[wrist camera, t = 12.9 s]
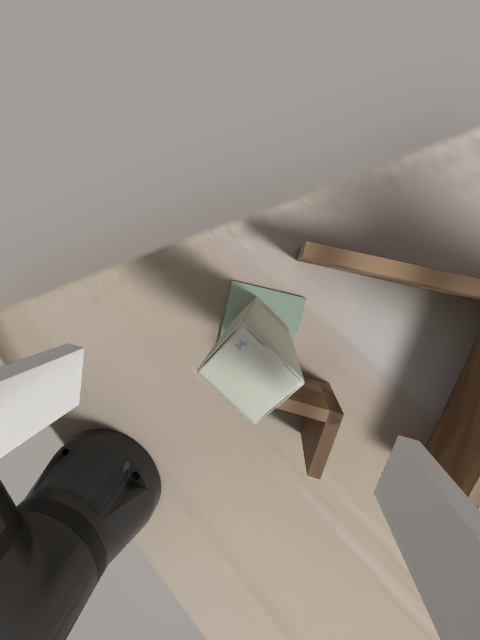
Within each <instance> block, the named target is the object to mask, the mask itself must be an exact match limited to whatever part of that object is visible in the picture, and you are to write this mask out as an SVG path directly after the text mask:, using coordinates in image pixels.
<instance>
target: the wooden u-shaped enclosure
mask: <svg viewBox="0 0 480 640" xmlns="http://www.w3.org/2000/svg"><path fill="white" fill-rule="evenodd" d="M296 260H297V261H302V262H306V263H311V264H315V265H320V266H324V267H329V268H333V269H337V270H342V271H346V272H351V273H355V274H360V275H364V276H369V277H373V278H377V279H382V280H386V281H391V282H395V283H400V284H404V285H409V286H413V287H417V288H422V289H426V290H431V291H435V292H440V293H444V294H449V295H453V296H457V297H462V298H466V299H471V300H475V301H480V279H479V278H474V277H470V276H465V275H460V274H456V273H451V272H447V271H442V270H437V269H433V268H428V267H423V266H419V265H414V264H410V263H405V262H400V261H396V260H391V259H387V258H382V257H377V256H373V255H368V254H363V253H359V252H354V251H350V250H345V249H340V248H336V247H331V246H327V245H322V244H317V243H313V242H308V241H306V242H305V243H304V244H303V245H302V246H301V247H300V248H299V251H298V255H297V259H296ZM303 378H304V382H305V383H304V385H303V386H301V387H300V388H299V389H298V390H297V391H296V392H295V393H293V394H292V395H291V396H290V397H289V398H287V399H286V400H285V401H284V402H283V403H281V404H280V405H279V406H278V407H276V408H277V409H281V410H284V411H288V412H291V413H295V414H298V415H302V416H305V417H306V419H305V422H304V425H303V429H302V432H301V438H302V444H303V451H304V457H305V464H306V471H307V475H308V476H311V477H314V478H318V479H320V478H321V475H322V472H323V470H324V467H325V464H326V462H327V459H328V456H329V453H330V451H331V448H332V445H333V443H334V440H335V437H336V434H337V432H338V429H339V426H340V423H341V421H342V418H343V415H344V414H343V412H342V410H341V408H340V405H339V403H338V401H337V399H336V397H335V395H334V393H333V391H332V388H331V386H330V384H329V383H326V382H323V381H319V380H315V379H311V378H308V377H304V376H303ZM426 449H427V451H428V452H429V453H430V454H431V455H432V456H433V457H434V459H435V460H436V461H437V462H438V463H439V464H440V466H441V467H442V468H443V469H444V470H445V471H446V472H447V474H448V475H449V476H450V477H451V478H452V479H453V481H454V482H455V483H456V484H457V485H458V486H459V488H460V489H461V490H462V491H463V492H464V493H465V494H466V496H467V497H468V498H469V499H470V500H471V501H472V503H473V504H474V505H475V506H476V507H477V508H478V509H479V508H480V335H479V337H478V340H477V342H476V344H475V346H474V348H473V350H472V352H471V354H470V356H469V359H468V361H467V363H466V365H465V367H464V369H463V371H462V373H461V375H460V378H459V380H458V382H457V384H456V386H455V388H454V390H453V392H452V394H451V397H450V399H449V401H448V403H447V405H446V407H445V409H444V411H443V413H442V416H441V418H440V420H439V422H438V424H437V426H436V428H435V430H434V432H433V435H432V437H431V439H430V441H429V443H428V445H427V447H426Z"/></svg>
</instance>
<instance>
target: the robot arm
mask: <svg viewBox="0 0 480 640" xmlns="http://www.w3.org/2000/svg"><path fill="white" fill-rule="evenodd" d="M83 355H84V348H83V347H79V346H75V345H72V344H65V345H62V346H59V347H56V348H53V349H50V350H47V351H45V352H42V353H39V354H36V355H33V356H30V357H27V358H24V359H22V360H19V361H16V362H13V363H10V364H7V365H4V366H1V367H0V458H2V457H3V456H4V455H6V454H7V453H9V452H10V451H12V450H13V449H15V448H16V447H17V446H19V445H21V444H22V443H24V442H25V441H26V440H28V439H29V438H31V437H32V436H34V435H35V434H37V433H38V432H40V431H41V430H43V429H44V428H46V427H47V426H48V425H50V424H51V423H53V422H54V421H56V420H57V419H59V418H60V417H62V416H63V415H65V414H66V413H67V412H69V411H70V410H72V409H73V408H75V407H76V406H78V405H79V402H80V390H81V379H82V367H83ZM374 494H375V496H376V499H377V501H378V503H379V505H380V507H381V510H382V512H383V514H384V516H385V518H386V521H387V523H388V525H389V527H390V529H391V532H392V534H393V536H394V538H395V540H396V543H397V545H398V547H399V549H400V551H401V553H402V556H403V558H404V560H405V562H406V564H407V567H408V569H409V571H410V573H411V575H412V578H413V580H414V582H415V584H416V586H417V589H418V591H419V593H420V595H421V597H422V599H423V602H424V604H425V606H426V608H427V610H428V613H429V615H430V617H431V619H432V621H433V624H434V626H435V628H436V630H437V632H438V635H439V637H440V639H441V640H480V511H479V509H478V508H477V507H476V506H475V505H474V504H473V503H472V501H471V500H470V499H469V498H468V497H467V496H466V494H465V493H464V492H463V491H462V490H461V489H460V488H459V486H458V485H457V484H456V483H455V482H454V481H453V479H452V478H451V477H450V476H449V475H448V474H447V472H446V471H445V470H444V469H443V468H442V467H441V466H440V464H439V463H438V462H437V461H436V460H435V459H434V457H433V456H432V455H431V454H430V453H429V452H428V451H427V449H426V448H425V447H424V446H423V445H422V444H421V442H420V441H418V440H414V439H411V438H407V437H403V436H400V435H398V437H397V440H396V442H395V444H394V447H393V449H392V451H391V454H390V456H389V458H388V461H387V463H386V465H385V468H384V470H383V472H382V475H381V477H380V479H379V482H378V484H377V486H376V489H375V491H374ZM160 495H161V481H160V476H159V473H158V470H157V468H156V466H155V464H154V462H153V460H152V459H151V457H150V456H149V455H148V454H147V452H146V451H145V450H144V449H143V448H142V447H141V446H140V445H138V444H137V443H136V442H134V441H133V440H131V439H130V438H128V437H126V436H124V435H122V434H120V433H117V432H114V431H110V430H102V429H95V430H88V431H85V432H82V433H80V434H78V435H76V436H75V437H74V438H72V439H71V440H70V441H69V442H68V443H66V444H65V445H64V446H63V447H62V448H61V449H60V450H59V451H58V452H57V453H56V454H55V455H54V457H53V458H52V460H51V461H50V463H49V464H48V465H47V467H46V468H45V470H44V471H43V473H42V474H41V476H40V477H39V479H38V480H37V482H36V483H35V485H34V486H33V487H32V489H31V490H30V492H29V493H28V495H27V496H26V498H25V499H24V500H23V501H22V502H21V503H20V504H19V505H18V506H17V507H16V506H15V504H14V502H13V501H12V499H11V497H10V495H9V494H8V492H7V490H6V489H5V487H4V485H3V484H2V482H1V480H0V640H66V638H67V636H68V635H69V633H70V631H71V630H72V628H73V626H74V624H75V622H76V621H77V619H78V617H79V615H80V613H81V612H82V610H83V608H84V606H85V604H86V603H87V601H88V599H89V597H90V595H91V594H92V592H93V590H94V588H95V586H96V585H97V583H98V581H99V579H100V578H101V576H102V574H103V573H104V571H105V569H106V568H107V566H108V565H109V563H110V562H111V561H112V560H113V559H114V558H115V557H116V556H117V555H118V554H119V553H120V551H121V550H122V549H123V548H124V547H125V546H126V545H127V544H128V543H129V542H130V541H131V540H132V539H133V538H134V537H135V535H136V534H137V533H138V532H139V531H140V530H141V529H142V528H143V527H144V526H145V525H146V523H147V522H148V520H149V519H150V517H151V515H152V513H153V511H154V510H155V508H156V506H157V504H158V501H159V499H160Z"/></svg>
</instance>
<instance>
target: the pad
mask: <svg viewBox="0 0 480 640" xmlns="http://www.w3.org/2000/svg"><path fill="white" fill-rule="evenodd" d="M255 297H258V298H259V299H260V300H261V301H262V302H263V303H265V304H266V305H267V306H268V307H269V308H270V309H271V310H272V311H273V312H274V313H275V314H276V315H277V316H278V317H279V318H280V319H281V320H282V321H283V322H284V323H285V324H286V325H287V326H288V328H289V332H290V335H291V338H292V342H294V339H295V335H296V332H297V328H298V325H299V322H300V318H301V315H302V311H303V308H304V304H305V301H306V298H304V297H299V296H295V295H291V294H287V293H283V292H278V291H274V290H270V289H266V288H262V287H258V286H253V285H249V284H245V283H241V282H237V281H232V282H231V287H230V291H229V296H228V301H227V305H226V310H225V315H224V319H223V324H222V329H221V333H220V337H221V336H222V335H223V333H224V332H225V331H226V329H227V328H228V326H229V325H230V324H231V322H232V321H233V320H234V319H235V318H236V317H237V315H238V314H239V313H240V312H241V311H242V310H243V309H244V308H245V307H246V306H247V305H248V304H249V303H250V302H251V301H252V300H253V299H254V298H255ZM219 339H220V338H219Z"/></svg>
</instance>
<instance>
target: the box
mask: <svg viewBox="0 0 480 640" xmlns="http://www.w3.org/2000/svg"><path fill="white" fill-rule="evenodd" d="M198 373H199V374H200V375H201V376H202V377H203V378H204V379H205V380H206V381H207V382H208V383H209V384H210V385H211V386H212V387H213V388H214V389H215V390H216V391H217V392H218V393H219V394H220V395H221V396H222V397H223V398H224V399H226V400H227V401H228V402H229V403H230V404H231V405H232V406H233V407H234V408H235V409H236V410H237V411H239V412H240V413H241V414H242V415H243V416H244V417H246V418H247V419H248V420H249V421H250V422H251V423H253V424H256V423H258V422H259V421H260V420H261V419H262V418H264V417H265V416H266V415H268V414H269V413H270V412H271V411H273V410H274V409H275V408H276V407H278V406H279V405H280V404H281V403H283V402H284V401H285V400H286V399H287V398H289V397H290V396H291V395H292V394H293V393H295V392H296V391H297V390H298V389H299V388H300V387H301V386H303V385H304V383H305V382H304V378H303V375H302V371H301V368H300V365H299V361H298V358H297V355H296V351H295V348H294V345H293V342H292V338H291V335H290V332H289V328H288V326H287V325H286V324H285V323H284V322H283V321H282V320H281V319H280V318H279V317H278V316H277V315H276V314H275V313H274V312H273V311H272V310H271V309H270V308H269V307H268V306H267V305H266V304H265V303H263V302H262V301H261V300H260V299H259V298H258V297H255V298H254V299H253V300H252V301H251V302H250V303H249V304H248V305H247V306H246V307H245V308H244V309H243V310H242V311H241V312H240V313H239V314H238V315H237V317H236V318H235V319H234V320H233V321H232V322H231V324H230V325H229V326H228V328H227V329H226V331H225V332H224V333H223V335H222V336H221V337H220V339H219V340H218V341H217V343H216V344H215V346H214V347H213V348H212V350H211V351H210V353H209V354H208V355H207V357H206V358H205V360H204V361H203V363H202V364H201V365H200V367H199V368H198Z"/></svg>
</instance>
